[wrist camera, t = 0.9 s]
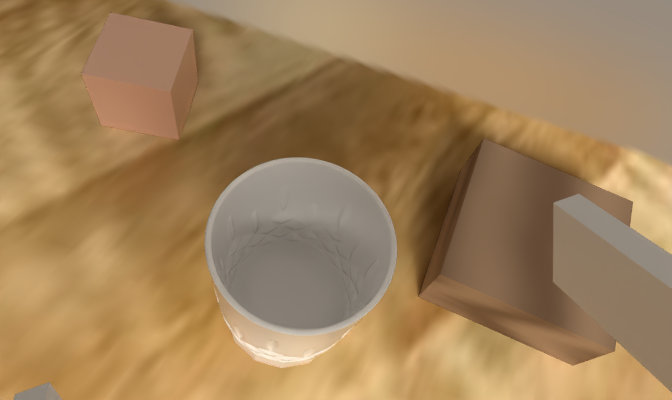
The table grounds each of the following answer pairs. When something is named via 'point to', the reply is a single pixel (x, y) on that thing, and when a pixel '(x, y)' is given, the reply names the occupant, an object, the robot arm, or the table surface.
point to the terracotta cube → (142, 75)
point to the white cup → (297, 257)
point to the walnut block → (514, 254)
